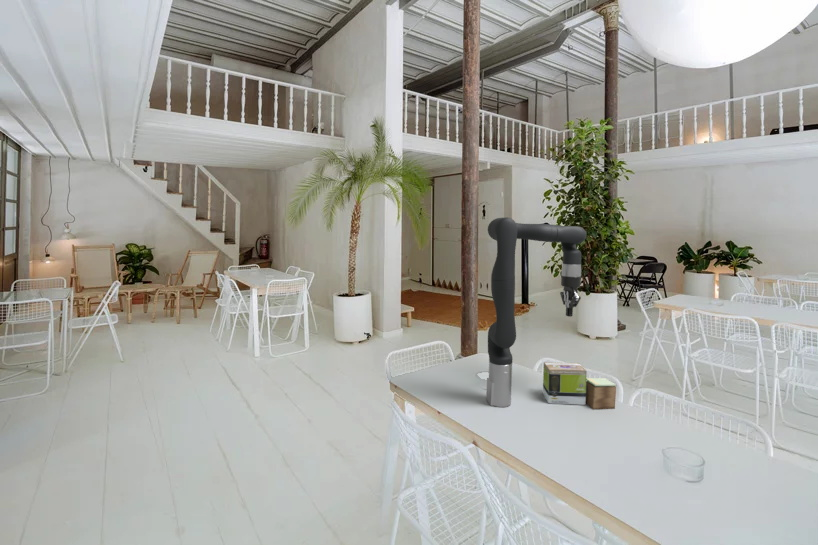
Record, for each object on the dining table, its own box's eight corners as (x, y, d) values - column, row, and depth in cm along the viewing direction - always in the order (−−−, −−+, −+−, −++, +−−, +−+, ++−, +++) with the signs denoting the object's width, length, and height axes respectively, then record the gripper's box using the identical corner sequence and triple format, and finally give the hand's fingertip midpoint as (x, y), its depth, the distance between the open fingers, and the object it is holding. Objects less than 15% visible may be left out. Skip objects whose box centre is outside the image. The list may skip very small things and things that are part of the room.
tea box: (578, 395, 175) (579, 362, 173) (585, 405, 165) (587, 370, 163) (542, 394, 176) (543, 361, 175) (547, 404, 166) (549, 369, 165)
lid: (595, 386, 160) (595, 384, 160) (585, 379, 167) (585, 378, 167) (616, 386, 161) (617, 384, 161) (606, 379, 168) (606, 378, 168)
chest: (593, 409, 161) (594, 387, 160) (584, 402, 168) (585, 381, 167) (614, 408, 162) (616, 386, 161) (604, 401, 169) (605, 380, 168)
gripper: (554, 273, 174) (553, 313, 176) (570, 276, 161) (568, 319, 163) (571, 273, 175) (569, 312, 177) (588, 276, 162) (586, 319, 164)
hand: (569, 316), depth 170 cm, fingers closed
